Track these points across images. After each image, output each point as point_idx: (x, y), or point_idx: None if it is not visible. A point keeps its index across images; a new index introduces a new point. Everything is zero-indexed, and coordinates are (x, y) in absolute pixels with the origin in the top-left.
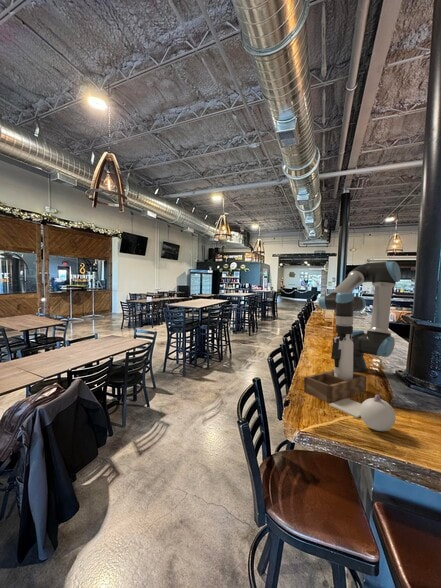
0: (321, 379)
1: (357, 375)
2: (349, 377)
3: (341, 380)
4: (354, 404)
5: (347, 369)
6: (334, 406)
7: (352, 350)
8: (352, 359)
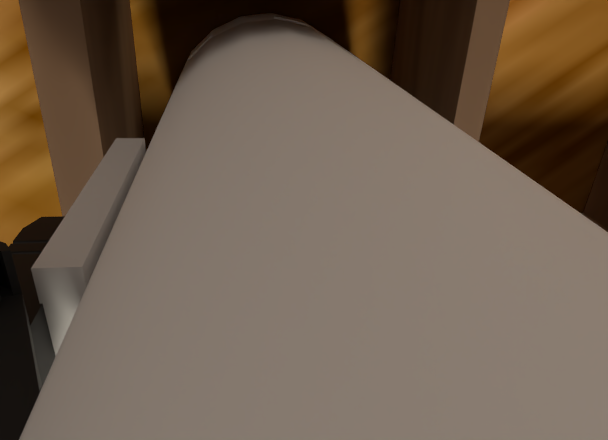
0: None
1: (87, 45)
2: (327, 42)
3: (489, 56)
4: None
5: (397, 86)
6: None
7: (398, 315)
8: (296, 113)
